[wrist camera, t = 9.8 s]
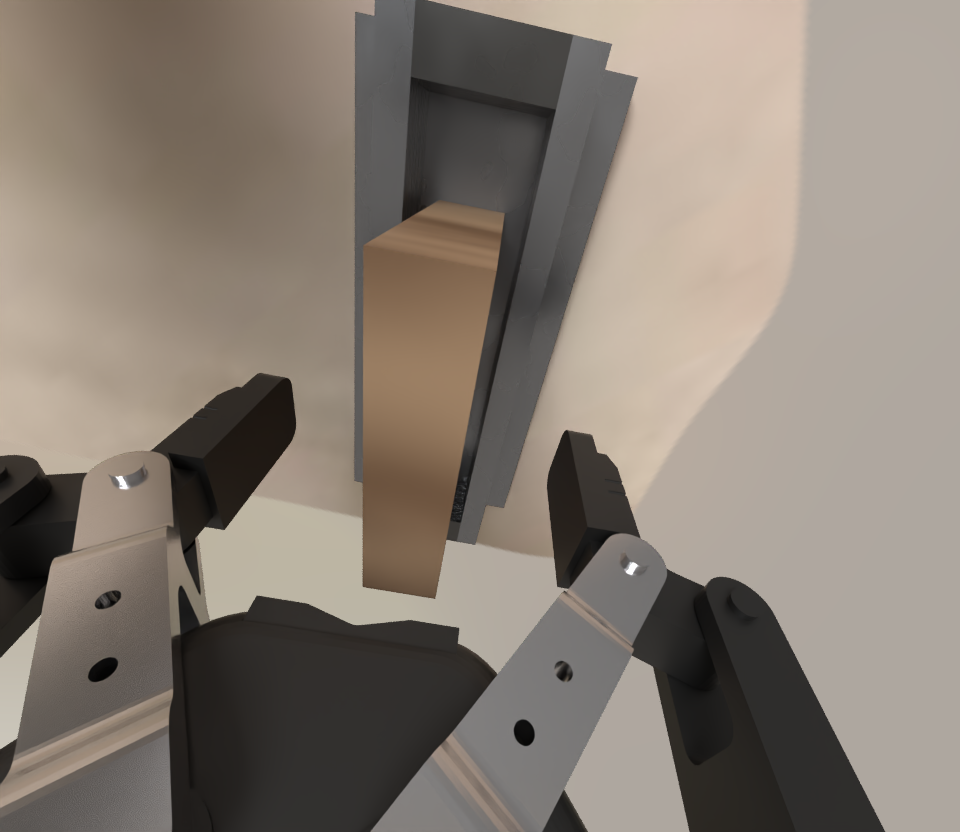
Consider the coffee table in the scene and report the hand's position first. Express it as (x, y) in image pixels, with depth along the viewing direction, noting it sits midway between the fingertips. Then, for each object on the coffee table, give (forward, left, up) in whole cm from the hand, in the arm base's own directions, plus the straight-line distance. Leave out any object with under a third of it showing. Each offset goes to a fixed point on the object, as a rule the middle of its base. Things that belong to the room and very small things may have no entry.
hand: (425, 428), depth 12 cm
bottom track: (0, 0, -8) cm, 8 cm away
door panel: (0, 0, -7) cm, 7 cm away
